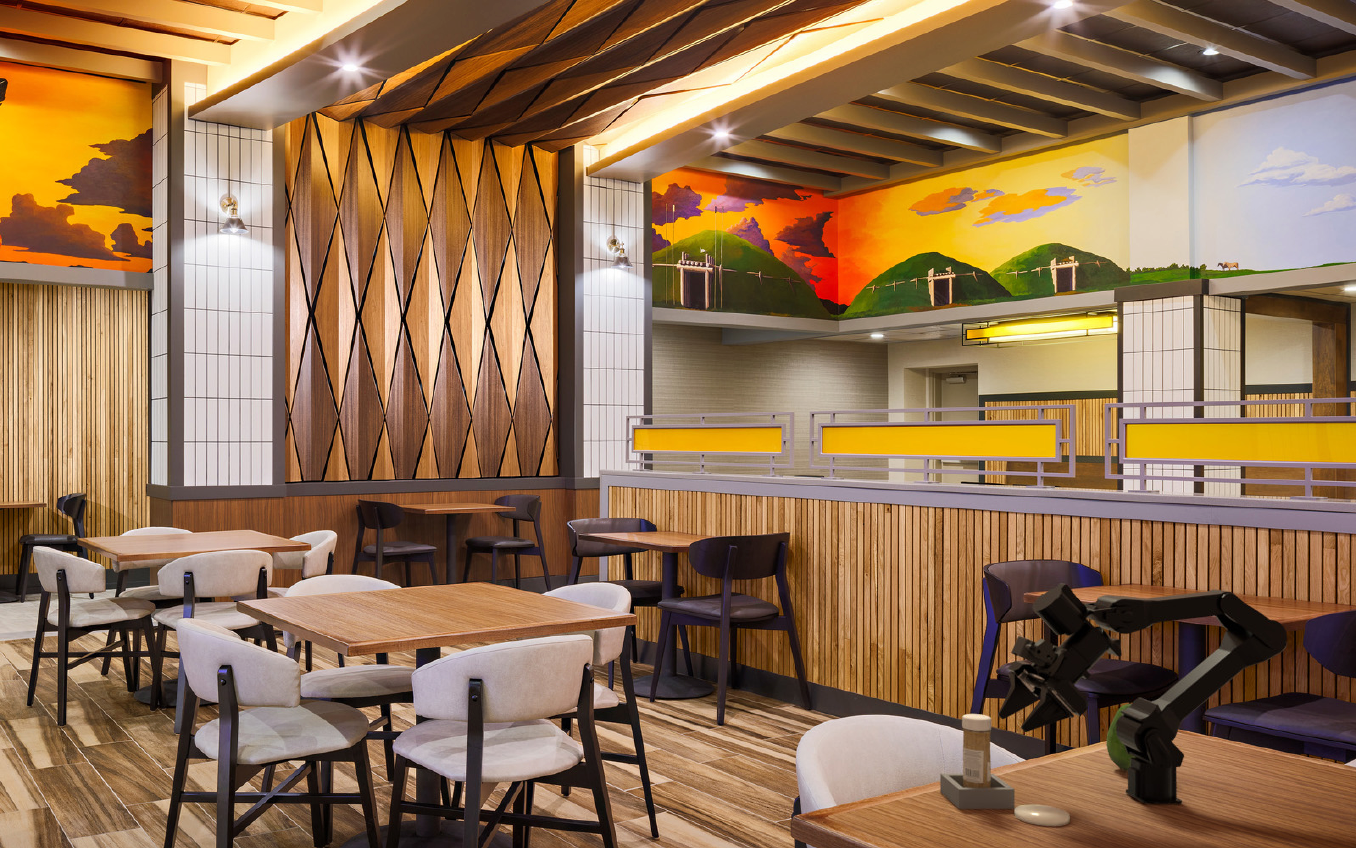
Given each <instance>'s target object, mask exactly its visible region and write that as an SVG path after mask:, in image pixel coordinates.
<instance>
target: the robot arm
mask: <svg viewBox="0 0 1356 848" xmlns="http://www.w3.org/2000/svg"><path fill="white" fill-rule="evenodd" d="M1032 610H1033V611H1034V613H1035V614H1036V615H1037V616H1038V617H1040V619H1041V620H1042V621H1043V622H1044V623H1045V624H1046V625H1047V626H1048V627H1049V628H1050V630H1052V632H1053V633H1055V635H1057V636H1063V635H1065V636H1067V638H1065V640H1063V642H1062V643H1061V644H1060V645H1059V646H1057V645H1055V644H1054V643H1052V642H1049V641H1048V640H1046V639H1043V638H1039V639H1038V640H1037V641H1033V640H1031V639H1028V638H1026V637H1024V636H1021V635H1018V636H1017V639H1016V641H1015V643H1014V645H1013V648H1012V649H1011V652H1010V653H1011V654H1012V655H1014V656H1016V657H1020V658H1022V659H1024V660H1026V661H1029V662H1031V663H1028V662H1026V661H1024V660H1014V661H1013V662H1012V663H1011V664H1010V665H1009V666H1008V668H1007V670H1008V671H1009V672H1008V677H1009V679H1010V687H1009V690H1008V693H1007V695H1006V697H1005V699H1004V701H1003V702H1002V705H1001V708H1000V709H999V711H998V713H997V715H998V717H999V718H1000V719H1002V720H1005V719H1007V718H1009V717H1010V716H1013V715H1014V714H1016V713H1019V712H1020V711H1022V710H1024V709H1025V708H1028V707H1029V706H1031V705H1033V704H1035V703H1037V702H1038V703H1037V704H1036V705H1035V707H1033V709H1032V711H1030V713H1029V714H1028V716H1026V718H1025V720H1024V721H1023V722H1022V724H1021V726H1020V729H1021V730H1022V731H1023V732H1025V733H1028V732H1031V731H1034V730H1037V729H1040V728H1042V727H1045V726H1048V725H1050V724H1055V723H1056V722H1059V721H1062V720H1066V719H1069V718H1071V719H1072V718H1075V715H1076V716H1078V717H1081V716H1083V714H1084V713H1085V712H1086V711H1087V710H1088V709H1089V699H1088V698H1087V697H1086V696H1085V695H1084V694H1083V693H1082V692H1081V691H1080V690H1079V689H1078V688H1077V687H1076V684H1077V683H1078V682H1079V681H1080V680H1081V679H1085V680H1088V679H1089V678H1090V676H1092V674H1091V673H1090V672H1089V670H1090V669H1092V667H1093V666H1094V665H1095V664H1097V662H1098V661H1099V660H1100V659H1101V658H1102V657H1103V656H1104V655H1105V654H1106V653H1108V655H1113V656H1116V657H1119V658H1120V657H1122V655H1123V654H1122V648H1121V644H1122V642H1121V640H1120V639H1119V638H1115V637H1111V635H1109V634H1108V633H1107V632H1106V630H1107V631H1112V632H1115V633H1118V634H1122V635H1129V634H1132V633H1136V632H1139V631H1142V630H1145V629H1148V628H1150V627H1151V626H1153V625H1155V624H1158V623H1162V622H1163V623H1164V622H1173V621H1183V620H1191V619H1198V618H1208V617H1215V619H1217V621H1218V623H1219V624H1220V626H1222V627H1223V628H1224V629H1225V630H1226V631H1225V633H1223V634H1224V635H1223V639H1222V641H1221V644H1220V646H1219V647H1218V648H1217V649H1216V650H1215V651H1214V652H1212V653H1211V654H1210V655H1209V656H1208V657H1207V658H1205V659H1204V660H1203V661H1202V662H1201V663H1199V664H1198V665H1197V666H1196V667H1195V668H1194V669H1192V670H1191V671H1190V672H1189V673H1187V674H1186V675H1185V676H1183V677H1182V678H1181V679H1180V680H1179V681H1178V682H1177V683H1176V684H1174V685H1173V686H1172V687H1171V688H1169V689H1168V690H1167V691H1166V692H1165V693H1164V694H1163V695H1161V696H1160V697H1159V698H1158V699H1155V700H1152V701H1151V700H1147V699H1145V698H1143V697H1137V698H1136V699H1135V700H1134V701H1133V702H1132V703H1130V704H1131V705H1130V706H1129V707H1128V708H1127V709H1125V710H1122V711H1120V712H1121V713H1122V714H1123V715H1121V716H1120V718H1119V719H1118V720H1117V722H1116V733H1117V737H1118V738H1119V740H1120V741H1121V742H1122V743H1123V744H1124V746H1125V749H1126V752H1127V754H1129V755H1132V756H1134V757H1135V758H1130V764H1131V767H1129V768H1128V771H1127V789H1125V793H1126V794H1128V795H1129V796H1131V797H1132V798H1134V799H1135V800H1137V801H1139V802H1141V803H1143V804H1145V805H1146V804H1147V805H1148V804H1153V805H1154V804H1159V805H1160V804H1162V805H1163V804H1167V805H1168V804H1171V805H1173V804H1175V805H1176V804H1178V805H1179V804H1183V799H1180V798H1179V797H1177V796H1178V795H1177V788H1178V786H1177V768H1181V767H1182V764H1183V761H1184V758H1185V754H1184V753H1183V752H1182V750H1181V749H1179V748H1178V746H1177V745H1175V743H1174V742H1173V741H1174V740H1175V739H1176V737H1177V735H1178V732H1179V729H1180V726H1181V724H1182V722H1183V721H1184V720H1185V719H1186V718H1187V717H1188V716H1189V715H1190V714H1192V713H1193V712H1194V711H1195V710H1196V709H1198V708H1199V707H1200V706H1201V705H1202V704H1204V703H1205V702H1206V701H1207V700H1208V699H1210V698H1211V697H1212V696H1213V695H1214V694H1216V693H1217V692H1218V691H1219V690H1221V689H1222V688H1223V687H1224V686H1225V685H1226V684H1228V683H1229V682H1230V681H1231V680H1233V678H1234V677H1236V676H1237V675H1238V674H1239V673H1240V672H1242V671H1243V670H1244V669H1246V668H1249V667H1251V666H1254V665H1258V664H1261V663H1264V662H1267V661H1268V660H1271V659H1272V658H1273V657H1276V656H1277V655H1279V654H1281V653H1282V652H1284V650H1285V649H1287V645H1288V634H1287V631H1286V630H1287V629H1285V626H1283V624H1281V622H1280V621H1277V620H1274V619H1270V618H1268V617H1267V615H1265V614H1263V613H1262V612H1260V611H1258V610H1257V609H1255V608H1253V607H1252V606H1251V605H1249V604H1248V603H1246V602H1244V601H1243V600H1242V599H1241V598H1240V597H1238V596H1237V595H1236V594H1235V593H1233V592H1231V591H1227V590H1221V589H1211V590H1208V591H1202V592H1201V591H1200V592H1194V593H1193V592H1192V593H1185V594H1175V595H1174V594H1173V595H1165V596H1156V597H1147V598H1146V597H1145V598H1144V597H1136V596H1135V597H1134V596H1125V595H1115V594H1113V595H1110V594H1104V595H1101V596H1099V597H1098V598H1097V599H1096V600H1095V601H1094V602H1086V603H1083V602H1082V601H1081V600H1080V599H1079V597H1078V596H1076V594H1075V593H1074V592H1073V590H1072V588H1071V587H1070V586H1069V585H1068V584H1066V583H1059V584H1058V585H1057V586H1056V587H1053V588H1051V589H1049V590H1047V591H1046V592H1045V593H1042V594H1041V595H1039V596H1038V597H1037V599H1036V600H1035V601H1034V602H1033V605H1032ZM1090 620H1092V621H1094V623H1095V624H1096V625H1097V626H1094V625H1093V623H1092V622H1090ZM1039 697H1040V699H1039Z"/></svg>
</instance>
